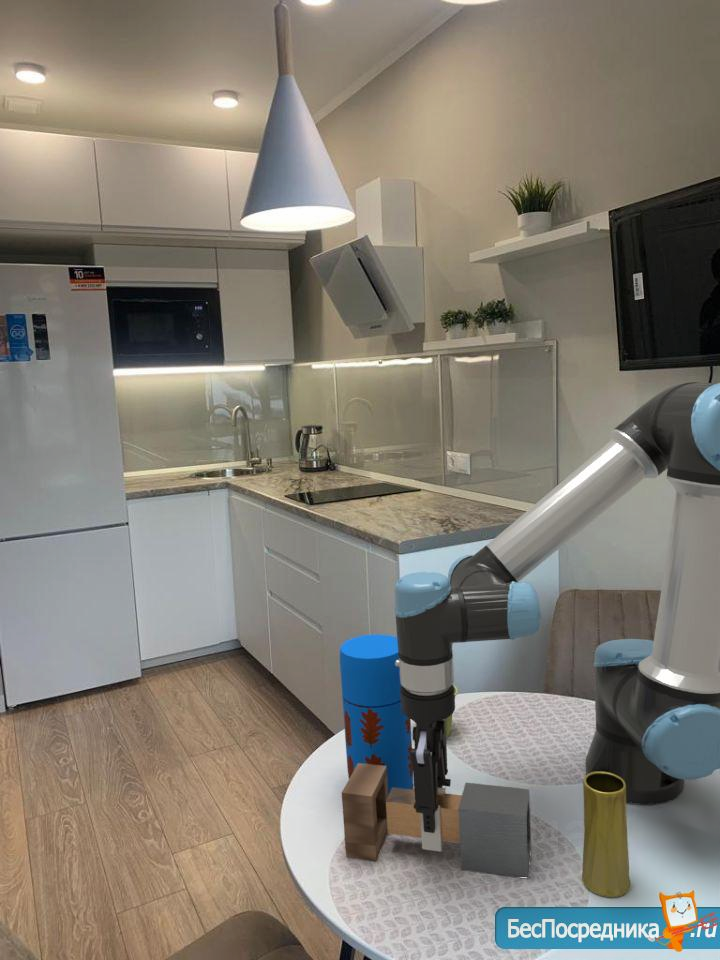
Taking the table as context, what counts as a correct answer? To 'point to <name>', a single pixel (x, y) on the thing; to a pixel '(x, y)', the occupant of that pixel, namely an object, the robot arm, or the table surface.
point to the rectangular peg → (408, 820)
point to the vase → (605, 835)
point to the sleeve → (495, 830)
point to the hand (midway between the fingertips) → (435, 838)
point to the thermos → (375, 708)
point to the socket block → (365, 811)
